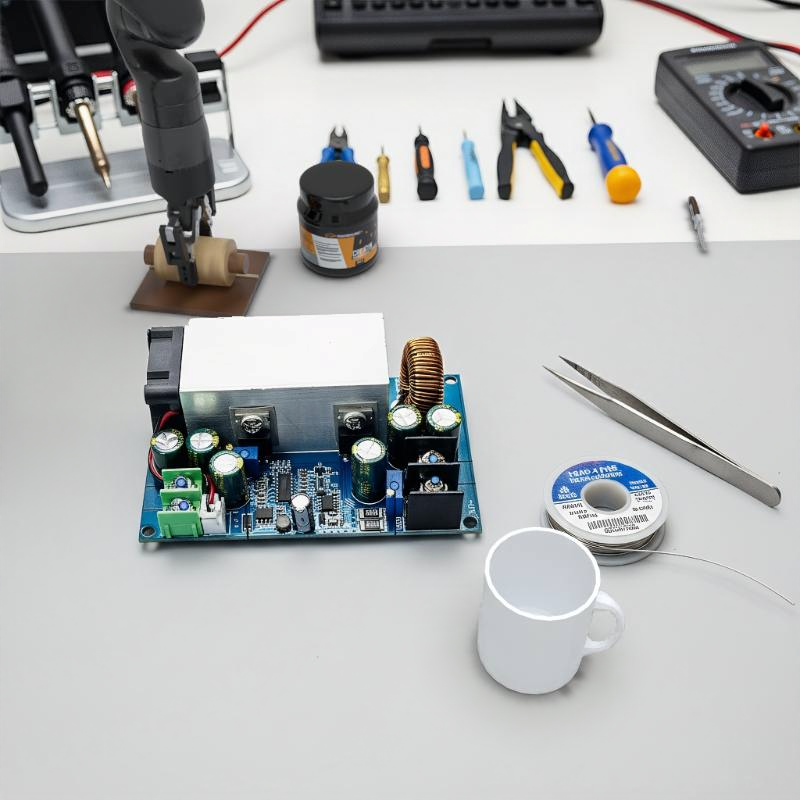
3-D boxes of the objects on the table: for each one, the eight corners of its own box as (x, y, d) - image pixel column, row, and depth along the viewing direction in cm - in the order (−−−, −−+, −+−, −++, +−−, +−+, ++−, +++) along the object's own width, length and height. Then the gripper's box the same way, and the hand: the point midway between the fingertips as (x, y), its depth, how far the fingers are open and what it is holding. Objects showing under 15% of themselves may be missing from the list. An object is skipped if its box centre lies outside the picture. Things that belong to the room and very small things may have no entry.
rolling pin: (143, 287, 126) (134, 248, 122) (158, 260, 130) (151, 221, 126) (242, 297, 125) (237, 258, 121) (254, 269, 129) (250, 231, 125)
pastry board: (131, 309, 125) (129, 301, 124) (165, 248, 135) (164, 240, 134) (243, 320, 123) (242, 313, 123) (270, 258, 133) (269, 250, 132)
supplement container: (325, 289, 128) (320, 210, 120) (286, 250, 135) (280, 171, 126) (393, 264, 132) (394, 185, 124) (353, 227, 139) (351, 150, 131)
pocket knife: (685, 202, 144) (688, 190, 143) (691, 202, 144) (694, 190, 143) (700, 256, 134) (703, 243, 133) (707, 256, 134) (710, 244, 133)
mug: (472, 607, 93) (480, 527, 85) (600, 606, 93) (620, 526, 85) (480, 698, 86) (489, 621, 78) (618, 697, 86) (641, 619, 78)
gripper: (167, 118, 121) (186, 234, 132) (125, 179, 110) (150, 299, 122) (227, 123, 120) (241, 239, 131) (190, 185, 109) (210, 305, 121)
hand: (197, 267), depth 126 cm, fingers closed on rolling pin, 6 cm apart
